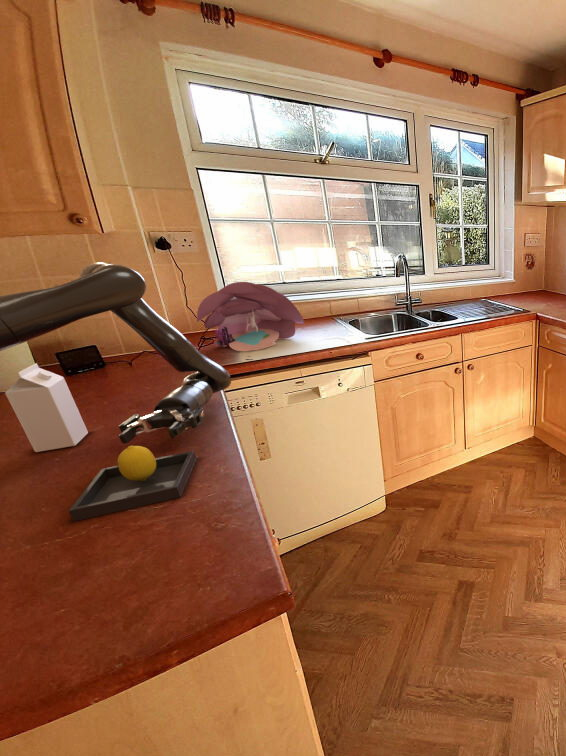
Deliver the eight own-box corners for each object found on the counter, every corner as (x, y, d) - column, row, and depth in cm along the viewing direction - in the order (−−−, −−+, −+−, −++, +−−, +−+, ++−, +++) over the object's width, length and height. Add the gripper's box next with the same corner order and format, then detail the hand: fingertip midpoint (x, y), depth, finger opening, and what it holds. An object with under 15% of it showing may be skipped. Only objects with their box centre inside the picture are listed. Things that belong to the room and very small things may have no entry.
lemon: (124, 492, 81) (108, 456, 78) (129, 478, 86) (114, 444, 83) (159, 482, 84) (146, 448, 81) (163, 469, 88) (150, 436, 85)
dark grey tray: (73, 521, 74) (68, 510, 73) (105, 478, 86) (101, 468, 86) (180, 497, 80) (176, 487, 79) (196, 459, 92) (193, 450, 92)
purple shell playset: (218, 369, 162) (190, 301, 146) (205, 345, 176) (177, 280, 161) (311, 342, 182) (294, 279, 166) (292, 323, 196) (275, 263, 180)
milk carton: (35, 453, 96) (-5, 375, 89) (51, 439, 102) (15, 365, 95) (75, 446, 99) (40, 370, 92) (88, 433, 105) (56, 361, 98)
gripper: (142, 394, 99) (99, 425, 84) (210, 387, 102) (181, 416, 88) (152, 423, 102) (113, 457, 87) (219, 415, 105) (192, 447, 91)
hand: (147, 436), depth 88 cm, fingers open, 8 cm apart
